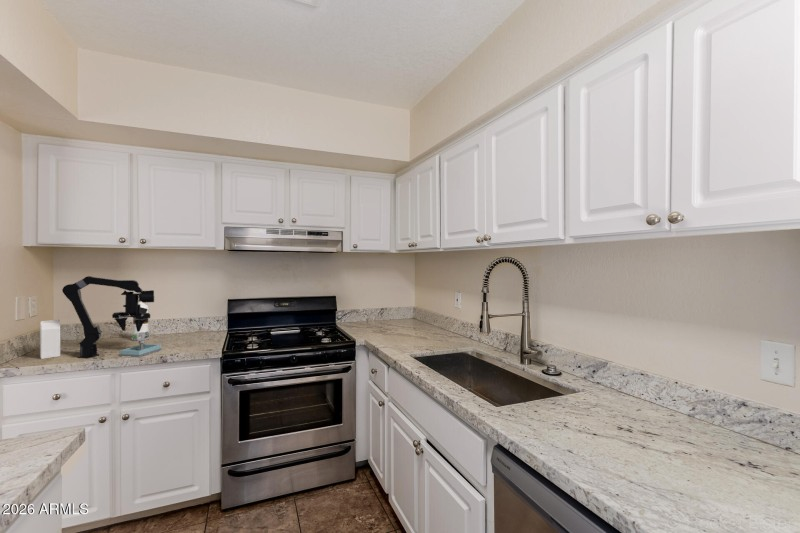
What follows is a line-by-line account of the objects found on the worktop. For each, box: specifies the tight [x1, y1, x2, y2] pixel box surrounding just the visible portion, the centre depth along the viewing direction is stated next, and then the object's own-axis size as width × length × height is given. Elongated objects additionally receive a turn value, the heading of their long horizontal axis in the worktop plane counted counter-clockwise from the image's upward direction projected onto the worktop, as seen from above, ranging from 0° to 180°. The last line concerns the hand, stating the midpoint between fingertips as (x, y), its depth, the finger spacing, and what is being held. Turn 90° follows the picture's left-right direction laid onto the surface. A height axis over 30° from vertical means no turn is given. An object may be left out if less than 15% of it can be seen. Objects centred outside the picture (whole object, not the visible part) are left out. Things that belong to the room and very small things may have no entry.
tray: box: [119, 343, 162, 358], centre depth 196 cm, size 11×15×3 cm
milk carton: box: [39, 319, 61, 360], centre depth 187 cm, size 7×7×19 cm
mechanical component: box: [131, 331, 151, 350], centre depth 196 cm, size 3×10×10 cm, turn 174°
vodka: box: [131, 295, 150, 341], centre depth 230 cm, size 9×9×30 cm
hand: (131, 331), depth 198 cm, fingers open, 9 cm apart
